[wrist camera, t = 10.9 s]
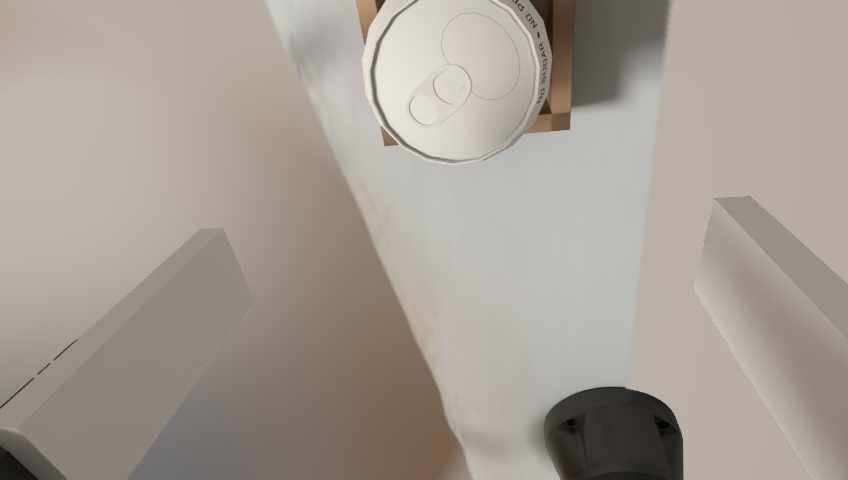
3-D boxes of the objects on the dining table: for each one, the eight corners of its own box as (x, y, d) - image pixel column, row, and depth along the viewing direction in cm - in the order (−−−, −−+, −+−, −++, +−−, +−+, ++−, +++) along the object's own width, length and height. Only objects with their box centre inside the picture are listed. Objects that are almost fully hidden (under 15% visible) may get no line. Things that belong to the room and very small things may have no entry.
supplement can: (476, -73, 27) (462, -94, 14) (554, 36, 30) (597, 96, 17) (386, 25, 31) (314, 75, 18) (463, 113, 33) (444, 209, 21)
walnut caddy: (561, 109, 33) (569, 129, 29) (396, 125, 36) (384, 146, 32) (567, -105, 26) (579, -115, 23) (361, -67, 29) (342, -70, 25)
